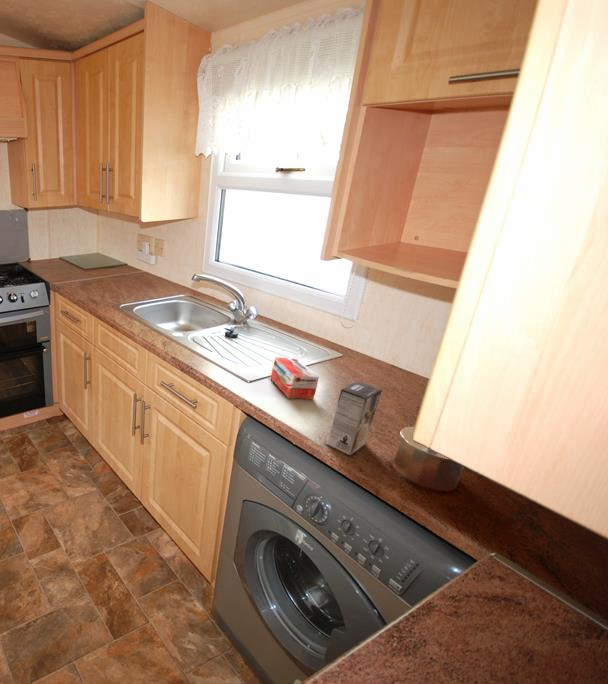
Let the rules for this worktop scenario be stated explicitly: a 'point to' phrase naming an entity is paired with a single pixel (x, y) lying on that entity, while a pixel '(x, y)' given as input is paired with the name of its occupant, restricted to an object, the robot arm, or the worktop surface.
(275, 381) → the medicine box
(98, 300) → the worktop surface
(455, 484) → the pot
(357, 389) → the coffee box
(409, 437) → the lid
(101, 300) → the worktop surface
